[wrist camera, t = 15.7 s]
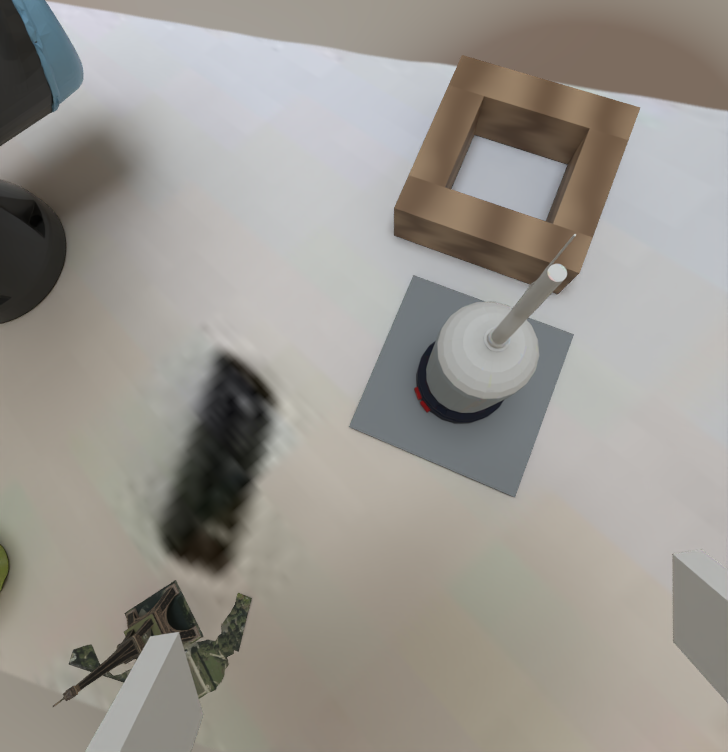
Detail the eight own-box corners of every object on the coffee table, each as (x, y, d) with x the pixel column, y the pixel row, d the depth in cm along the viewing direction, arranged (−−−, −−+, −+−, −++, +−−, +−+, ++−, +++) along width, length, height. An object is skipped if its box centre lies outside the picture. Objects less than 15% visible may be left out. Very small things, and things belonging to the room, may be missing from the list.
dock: (394, 235, 44) (394, 208, 39) (454, 97, 46) (462, 55, 42) (557, 294, 42) (579, 272, 37) (612, 146, 44) (640, 107, 39)
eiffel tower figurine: (70, 662, 40) (-91, 766, 27) (106, 548, 41) (-30, 594, 28) (224, 711, 38) (134, 848, 25) (255, 591, 40) (186, 660, 26)
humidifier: (401, 401, 41) (412, 320, 16) (437, 324, 42) (502, 138, 17) (482, 440, 39) (629, 418, 15) (518, 359, 41) (710, 215, 16)
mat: (349, 427, 41) (349, 426, 40) (413, 277, 43) (413, 275, 43) (512, 496, 39) (514, 497, 38) (571, 336, 41) (573, 334, 41)
